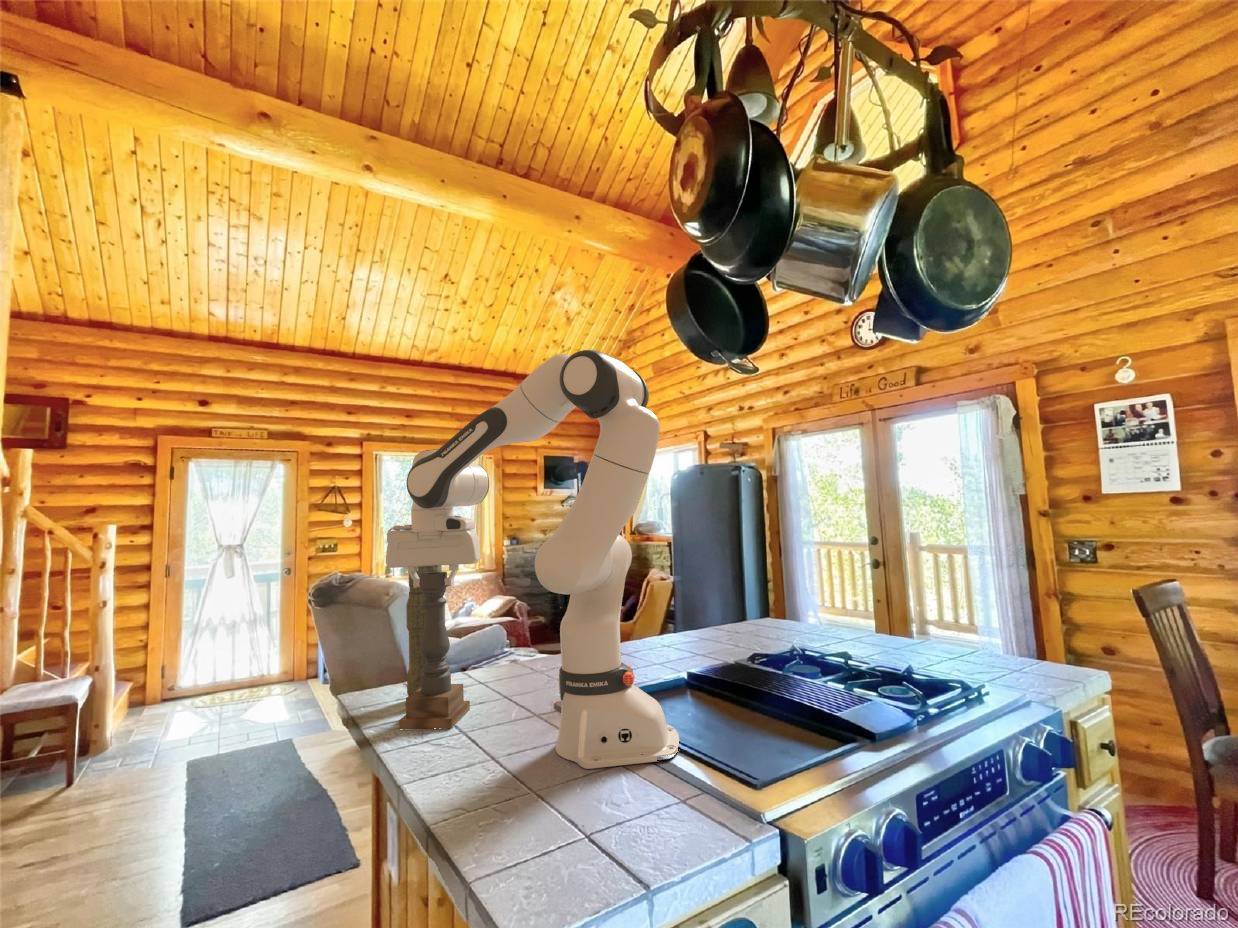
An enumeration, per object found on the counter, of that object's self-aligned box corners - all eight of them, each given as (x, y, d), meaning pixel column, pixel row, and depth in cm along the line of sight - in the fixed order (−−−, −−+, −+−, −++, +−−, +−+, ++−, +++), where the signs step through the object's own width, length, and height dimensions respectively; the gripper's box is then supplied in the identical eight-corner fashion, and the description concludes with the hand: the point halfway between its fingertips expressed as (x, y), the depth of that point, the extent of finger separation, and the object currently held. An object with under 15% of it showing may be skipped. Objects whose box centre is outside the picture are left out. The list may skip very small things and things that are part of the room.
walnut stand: (469, 709, 123) (469, 682, 123) (451, 728, 112) (451, 698, 113) (421, 711, 124) (421, 683, 124) (399, 730, 113) (398, 700, 113)
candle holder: (432, 697, 114) (429, 574, 116) (414, 692, 118) (412, 574, 120) (457, 688, 119) (454, 571, 121) (439, 684, 123) (437, 571, 125)
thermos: (428, 711, 124) (425, 553, 127) (395, 703, 130) (393, 554, 133) (459, 699, 131) (456, 550, 134) (426, 692, 137) (424, 551, 141)
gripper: (380, 526, 119) (380, 590, 118) (472, 521, 118) (474, 586, 117) (393, 525, 125) (394, 587, 124) (481, 520, 124) (483, 582, 123)
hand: (433, 586), depth 120 cm, fingers closed on candle holder, 5 cm apart
